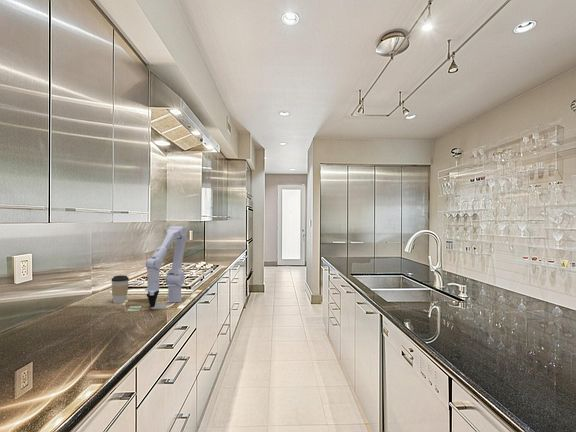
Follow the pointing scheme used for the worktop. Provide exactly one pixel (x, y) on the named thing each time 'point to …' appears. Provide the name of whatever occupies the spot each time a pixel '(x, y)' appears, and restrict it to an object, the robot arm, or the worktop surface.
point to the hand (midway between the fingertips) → (152, 305)
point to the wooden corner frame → (134, 304)
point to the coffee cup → (119, 288)
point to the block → (159, 306)
